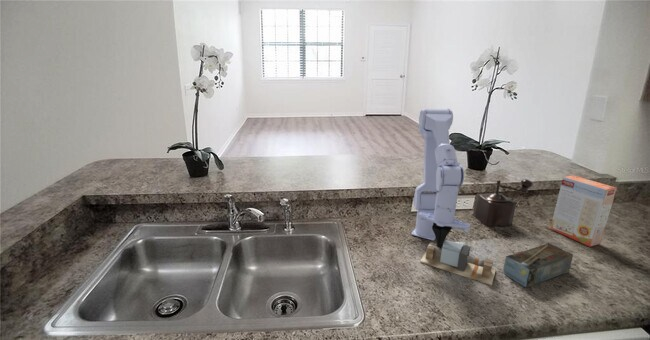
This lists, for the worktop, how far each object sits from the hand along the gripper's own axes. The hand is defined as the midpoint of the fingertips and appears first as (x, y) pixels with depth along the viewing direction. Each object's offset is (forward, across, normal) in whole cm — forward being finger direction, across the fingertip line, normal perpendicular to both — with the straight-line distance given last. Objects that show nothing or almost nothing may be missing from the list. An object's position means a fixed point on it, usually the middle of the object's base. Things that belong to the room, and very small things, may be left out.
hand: (439, 246), depth 102 cm
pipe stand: (+5, +6, 0) cm, 8 cm away
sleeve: (+4, +4, 0) cm, 5 cm away
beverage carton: (+6, +26, +10) cm, 28 cm away
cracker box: (+5, +36, +43) cm, 57 cm away
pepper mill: (+5, +12, +42) cm, 44 cm away
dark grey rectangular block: (+5, +7, 0) cm, 9 cm away
